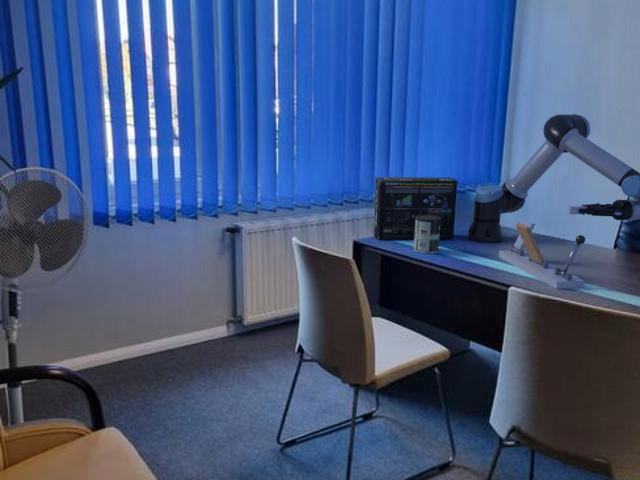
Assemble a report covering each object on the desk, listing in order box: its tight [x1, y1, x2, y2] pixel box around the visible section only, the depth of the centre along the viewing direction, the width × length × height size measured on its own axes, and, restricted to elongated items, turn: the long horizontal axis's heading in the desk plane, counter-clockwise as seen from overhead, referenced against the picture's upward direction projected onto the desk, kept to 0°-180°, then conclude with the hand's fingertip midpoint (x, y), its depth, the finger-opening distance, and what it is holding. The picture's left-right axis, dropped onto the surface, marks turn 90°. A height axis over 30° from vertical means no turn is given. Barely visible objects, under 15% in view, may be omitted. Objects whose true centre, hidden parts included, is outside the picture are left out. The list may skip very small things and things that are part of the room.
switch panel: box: [498, 244, 585, 290], centre depth 204 cm, size 10×39×5 cm, turn 11°
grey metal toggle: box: [556, 234, 586, 278], centre depth 188 cm, size 3×5×15 cm, turn 11°
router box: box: [373, 176, 459, 241], centre depth 247 cm, size 36×11×27 cm, turn 96°
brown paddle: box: [514, 222, 546, 266], centre depth 201 cm, size 2×8×17 cm
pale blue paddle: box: [512, 220, 536, 254], centre depth 217 cm, size 2×5×13 cm, turn 11°
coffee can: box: [413, 215, 441, 255], centre depth 227 cm, size 10×10×14 cm
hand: (569, 210), depth 200 cm, fingers closed
